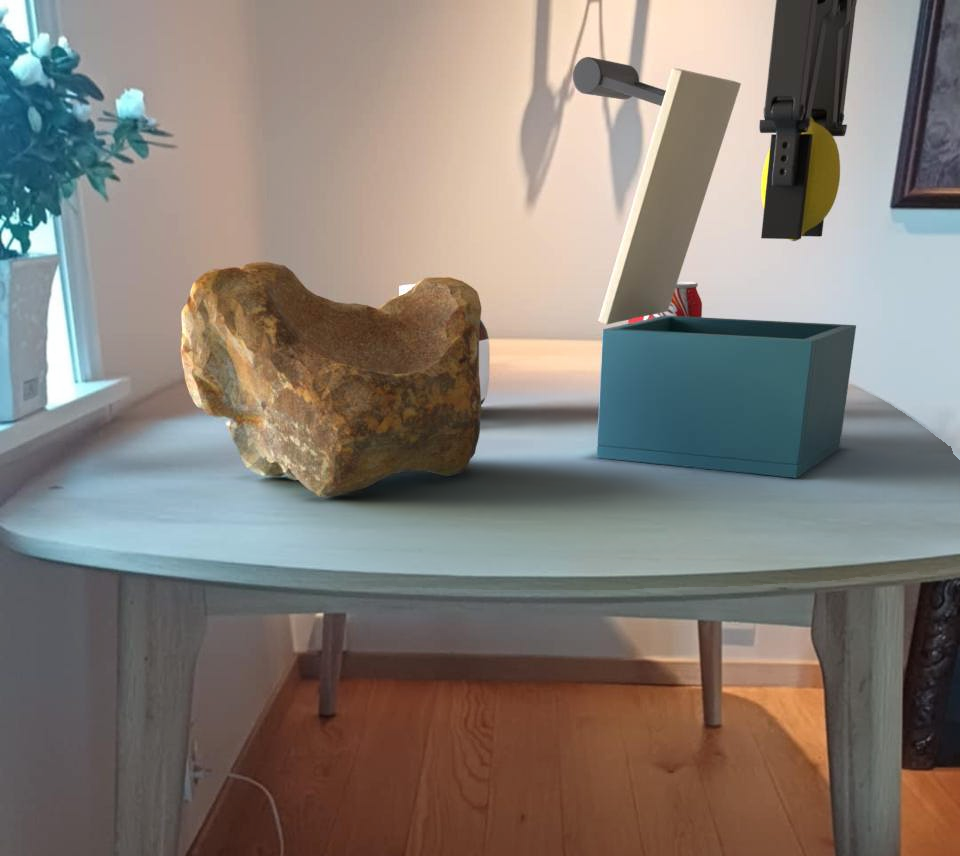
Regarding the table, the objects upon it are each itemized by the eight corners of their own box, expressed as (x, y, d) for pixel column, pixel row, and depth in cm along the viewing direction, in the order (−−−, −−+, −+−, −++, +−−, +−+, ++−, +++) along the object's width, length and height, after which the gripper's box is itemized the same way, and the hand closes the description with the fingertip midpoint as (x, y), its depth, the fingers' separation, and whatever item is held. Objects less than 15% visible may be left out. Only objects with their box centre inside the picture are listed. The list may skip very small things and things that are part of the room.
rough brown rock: (213, 527, 86) (202, 292, 78) (182, 461, 99) (169, 254, 92) (528, 514, 93) (547, 297, 85) (460, 454, 107) (470, 262, 99)
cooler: (839, 449, 109) (856, 325, 104) (796, 478, 98) (813, 341, 93) (655, 432, 116) (663, 315, 111) (596, 457, 105) (602, 329, 100)
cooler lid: (741, 83, 101) (635, 48, 103) (682, 70, 90) (565, 32, 92) (668, 311, 111) (572, 274, 113) (606, 324, 100) (503, 284, 102)
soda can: (618, 418, 123) (625, 284, 117) (627, 407, 129) (635, 279, 123) (690, 421, 121) (701, 285, 116) (697, 410, 127) (707, 280, 122)
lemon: (778, 243, 89) (792, 113, 86) (742, 240, 94) (753, 117, 90) (847, 242, 91) (862, 114, 87) (807, 239, 96) (821, 118, 92)
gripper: (863, -202, 73) (811, 242, 84) (920, -136, 87) (870, 234, 98) (738, -187, 76) (703, 240, 87) (813, -126, 90) (775, 232, 101)
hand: (792, 236), depth 92 cm, fingers closed on lemon, 6 cm apart
